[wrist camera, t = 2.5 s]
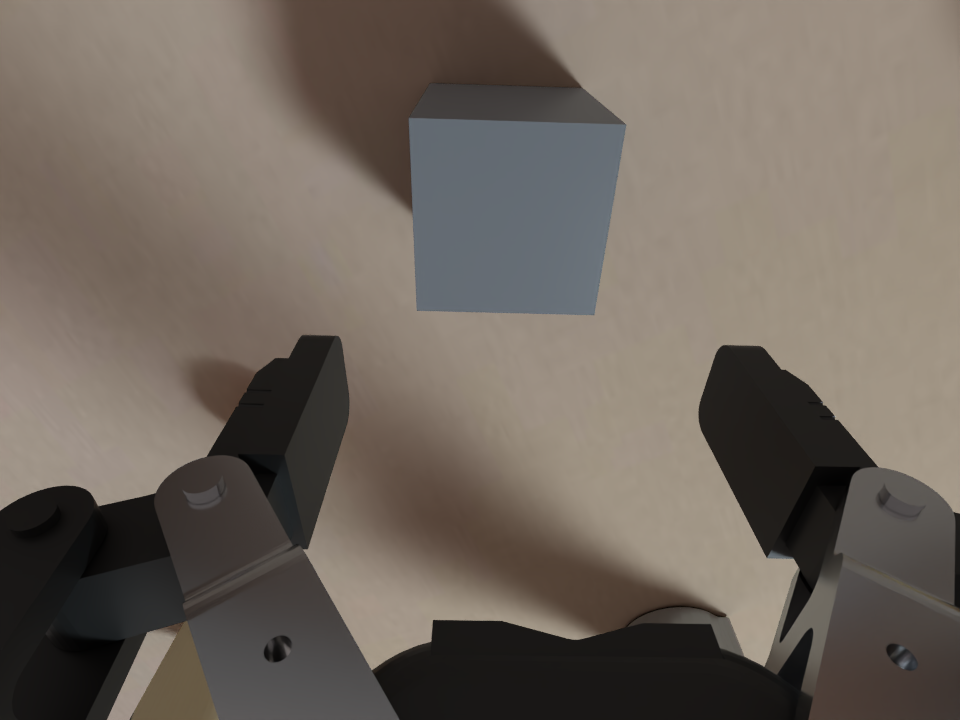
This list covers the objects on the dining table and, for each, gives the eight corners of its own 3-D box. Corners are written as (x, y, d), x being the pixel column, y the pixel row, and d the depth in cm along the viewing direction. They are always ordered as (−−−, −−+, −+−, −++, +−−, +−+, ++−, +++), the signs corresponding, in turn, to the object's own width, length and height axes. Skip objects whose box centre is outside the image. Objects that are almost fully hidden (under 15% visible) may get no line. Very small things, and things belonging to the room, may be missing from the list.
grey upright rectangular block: (582, 87, 25) (626, 124, 17) (564, 234, 28) (594, 314, 21) (430, 83, 24) (408, 118, 17) (433, 230, 28) (416, 310, 21)
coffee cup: (156, 608, 48) (71, 767, 38) (245, 587, 46) (181, 749, 36) (217, 659, 53) (156, 812, 43) (301, 642, 51) (257, 797, 41)
